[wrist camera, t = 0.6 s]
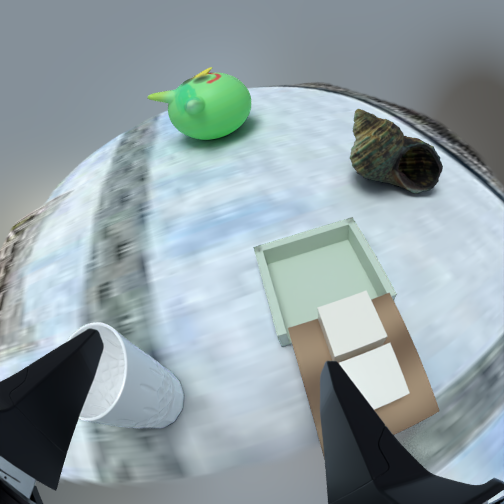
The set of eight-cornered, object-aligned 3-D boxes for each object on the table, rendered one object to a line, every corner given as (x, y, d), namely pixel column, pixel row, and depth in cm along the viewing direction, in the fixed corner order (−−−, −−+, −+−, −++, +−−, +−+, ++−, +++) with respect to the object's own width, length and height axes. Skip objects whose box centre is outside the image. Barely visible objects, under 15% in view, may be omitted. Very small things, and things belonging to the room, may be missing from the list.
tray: (389, 309, 24) (396, 294, 21) (282, 347, 24) (277, 335, 22) (351, 235, 30) (352, 217, 28) (259, 264, 31) (253, 247, 28)
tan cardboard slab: (421, 415, 16) (439, 410, 13) (323, 455, 17) (324, 460, 14) (381, 312, 24) (389, 292, 21) (292, 343, 24) (287, 328, 21)
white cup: (186, 357, 25) (129, 314, 18) (194, 433, 20) (127, 423, 13) (124, 366, 26) (61, 328, 18) (126, 433, 21) (52, 416, 13)
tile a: (401, 397, 15) (409, 393, 14) (350, 418, 15) (354, 417, 14) (384, 351, 18) (390, 342, 16) (335, 369, 18) (336, 363, 16)
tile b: (381, 345, 18) (387, 336, 17) (333, 363, 18) (334, 356, 17) (363, 302, 21) (366, 290, 19) (317, 318, 21) (317, 307, 19)
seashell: (393, 224, 30) (405, 154, 22) (337, 177, 37) (332, 114, 29) (439, 193, 31) (453, 131, 23) (385, 155, 38) (387, 98, 30)
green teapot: (273, 121, 52) (257, 57, 41) (215, 163, 46) (187, 89, 35) (217, 114, 62) (199, 63, 51) (164, 149, 56) (139, 94, 45)
